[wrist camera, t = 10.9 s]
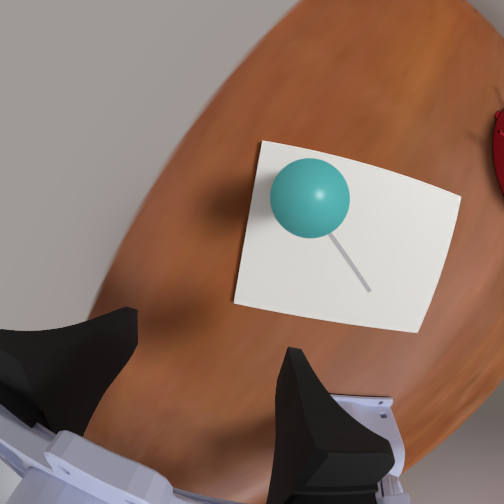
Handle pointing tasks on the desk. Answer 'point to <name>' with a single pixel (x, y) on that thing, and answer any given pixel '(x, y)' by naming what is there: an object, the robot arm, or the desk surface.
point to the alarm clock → (499, 148)
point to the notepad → (349, 248)
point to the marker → (310, 198)
